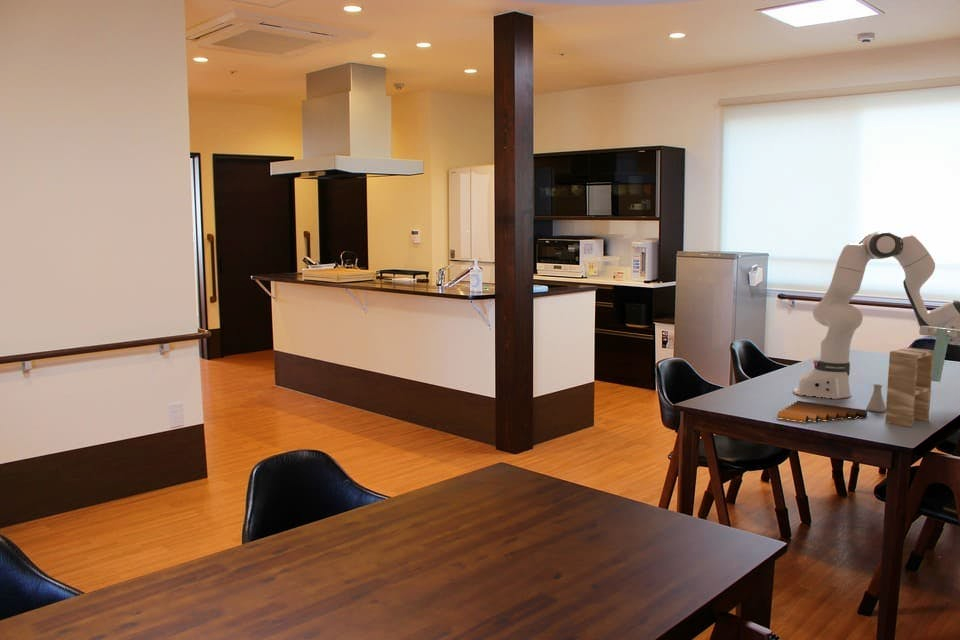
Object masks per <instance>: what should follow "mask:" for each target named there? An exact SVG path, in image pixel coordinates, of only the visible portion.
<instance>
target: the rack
mask: <svg viewBox="0 0 960 640" xmlns="http://www.w3.org/2000/svg"><path fill="white" fill-rule="evenodd" d="M933 353H934V349H932V350H931V349H926V348H915V347H904V348H900V349H895V350H891V351H889V358H888V360H889V363H888V376H887V387H886V388H887V389H886V403H885V404H886V405H885V407H886V411H885V419H884V420H885V421H884V422H885V423H886V422H889V423H888V424H891V423H894V424H893V425H897V424H898V425H899V426H902V425H903V426H902V427H907V428H908V427H909V428H913V427H914V422H915V421H914V420H918V421H925V422H929V419H930V406H931V405H930V404H931V392H932V382H933V381H932V367H933ZM898 425H897V426H898Z"/></svg>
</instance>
